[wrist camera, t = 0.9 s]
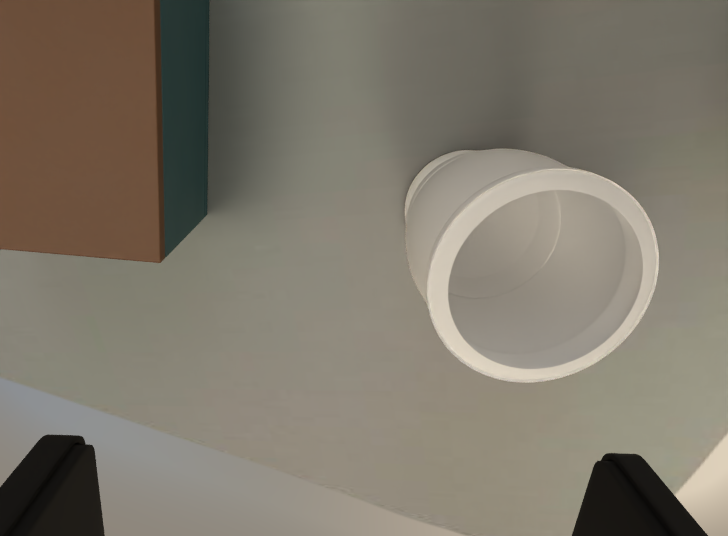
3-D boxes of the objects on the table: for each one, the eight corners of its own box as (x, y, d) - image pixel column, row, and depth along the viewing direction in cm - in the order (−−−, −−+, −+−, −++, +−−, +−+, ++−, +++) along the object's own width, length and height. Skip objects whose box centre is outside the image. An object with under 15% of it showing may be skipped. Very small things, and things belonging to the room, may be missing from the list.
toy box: (-20, -95, 28) (-181, -178, 19) (210, -60, 29) (158, -123, 20) (15, 196, 34) (-96, 234, 25) (207, 214, 35) (165, 258, 26)
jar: (381, 268, 37) (412, 379, 23) (398, 127, 34) (447, 156, 20) (517, 278, 38) (626, 390, 24) (547, 141, 35) (695, 179, 21)
